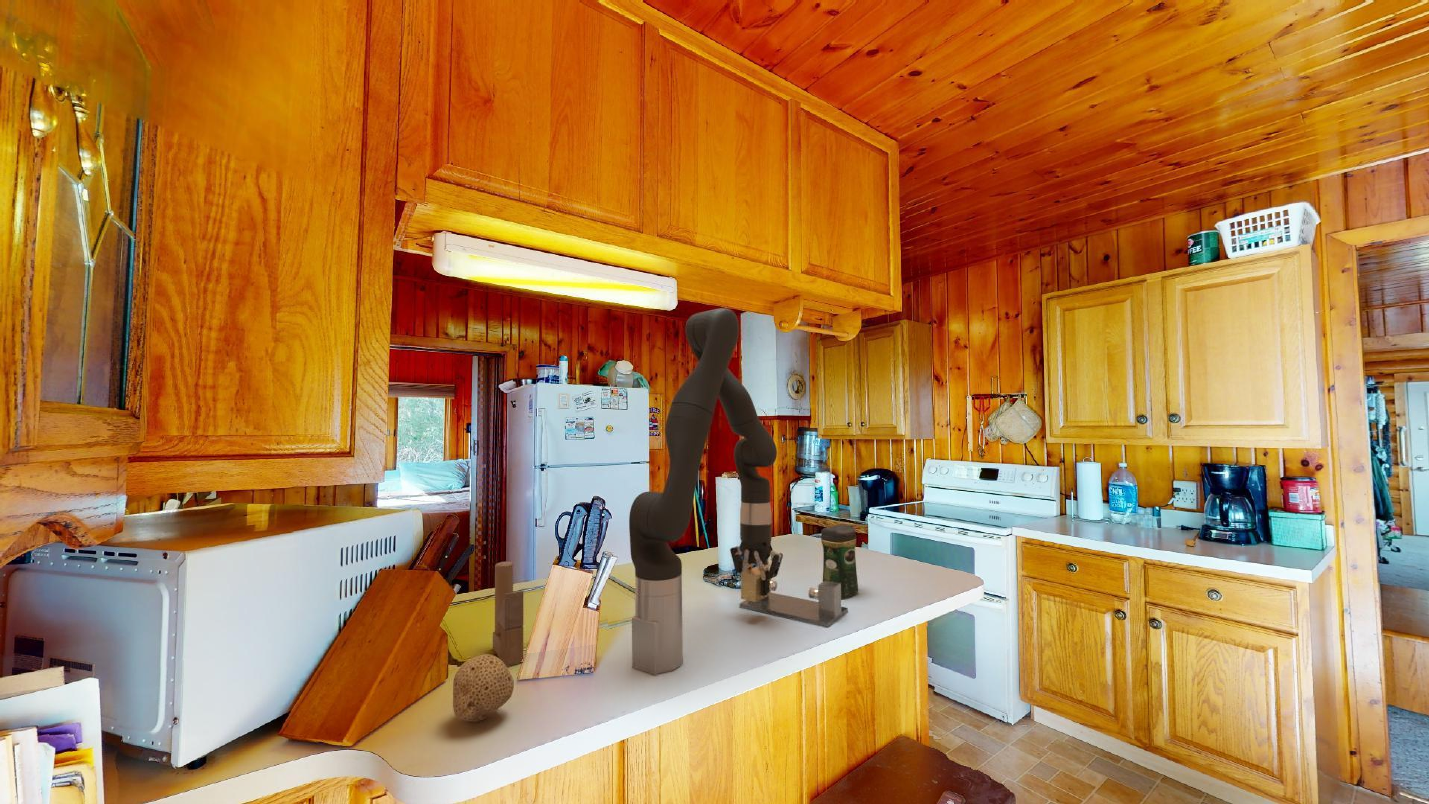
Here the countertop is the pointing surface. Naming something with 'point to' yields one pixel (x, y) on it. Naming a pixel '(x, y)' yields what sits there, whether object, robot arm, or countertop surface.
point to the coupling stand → (803, 605)
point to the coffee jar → (840, 557)
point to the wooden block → (507, 616)
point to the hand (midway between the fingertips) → (756, 593)
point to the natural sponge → (481, 687)
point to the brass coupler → (752, 585)
